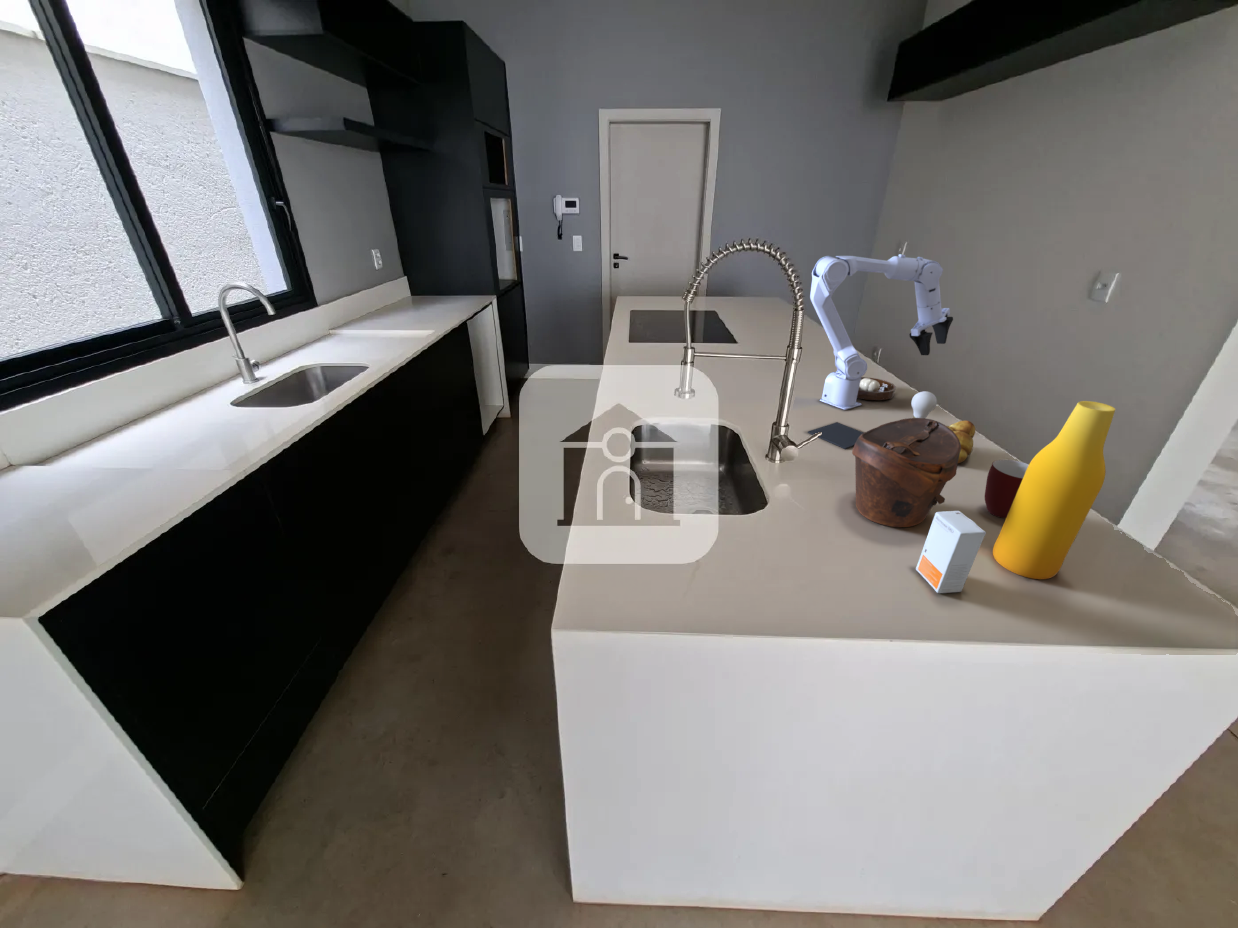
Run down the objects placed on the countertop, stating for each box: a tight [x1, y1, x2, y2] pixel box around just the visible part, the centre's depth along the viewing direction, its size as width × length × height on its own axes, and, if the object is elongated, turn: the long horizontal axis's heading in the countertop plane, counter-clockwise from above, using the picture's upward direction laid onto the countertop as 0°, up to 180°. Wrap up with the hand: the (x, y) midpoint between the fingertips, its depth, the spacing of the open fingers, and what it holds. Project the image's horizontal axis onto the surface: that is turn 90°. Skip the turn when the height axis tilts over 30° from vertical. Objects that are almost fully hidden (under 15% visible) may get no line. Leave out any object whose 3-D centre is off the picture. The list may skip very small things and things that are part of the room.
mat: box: [807, 421, 864, 450], centre depth 132 cm, size 12×12×1 cm
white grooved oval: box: [859, 377, 880, 392], centre depth 160 cm, size 7×4×4 cm, turn 31°
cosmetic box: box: [915, 510, 987, 594], centre depth 79 cm, size 6×4×12 cm
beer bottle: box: [992, 400, 1116, 580], centre depth 79 cm, size 9×9×29 cm
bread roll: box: [946, 419, 976, 464], centre depth 120 cm, size 13×10×8 cm
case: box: [851, 417, 961, 528], centre depth 96 cm, size 18×20×18 cm
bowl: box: [857, 376, 897, 401], centre depth 160 cm, size 15×15×3 cm
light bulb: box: [910, 390, 938, 419], centre depth 135 cm, size 6×6×10 cm
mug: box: [984, 459, 1030, 519], centre depth 96 cm, size 10×8×10 cm
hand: (933, 349), depth 144 cm, fingers open, 7 cm apart
